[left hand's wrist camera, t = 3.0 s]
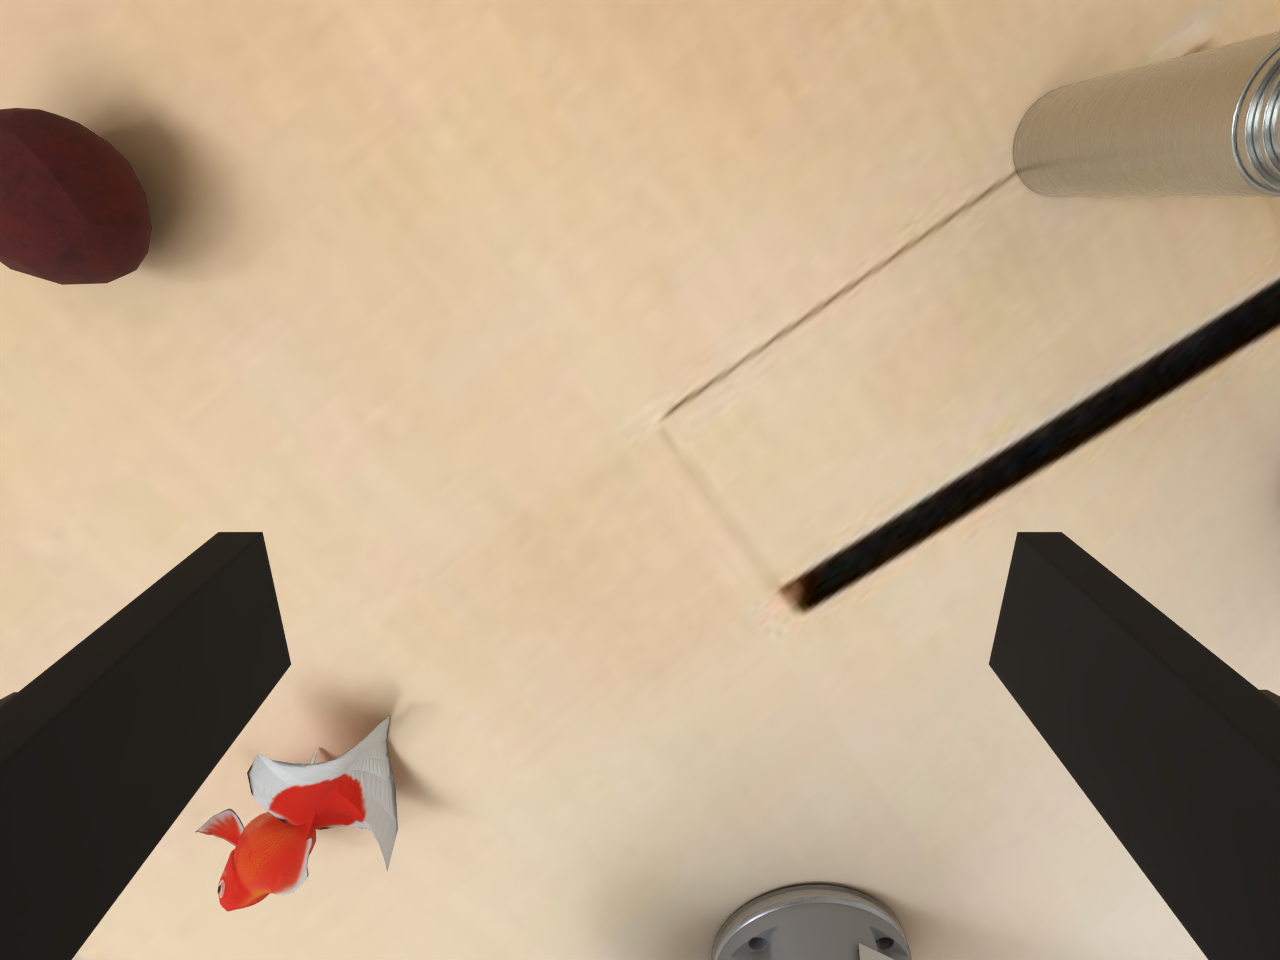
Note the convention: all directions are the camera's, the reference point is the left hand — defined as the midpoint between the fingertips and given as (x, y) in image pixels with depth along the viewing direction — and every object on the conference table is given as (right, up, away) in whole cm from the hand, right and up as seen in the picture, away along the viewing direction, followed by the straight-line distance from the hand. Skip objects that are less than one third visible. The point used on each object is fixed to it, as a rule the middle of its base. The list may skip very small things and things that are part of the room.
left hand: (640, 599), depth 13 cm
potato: (-27, +16, +24) cm, 39 cm away
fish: (-22, -18, +37) cm, 47 cm away
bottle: (+21, +19, +23) cm, 36 cm away
